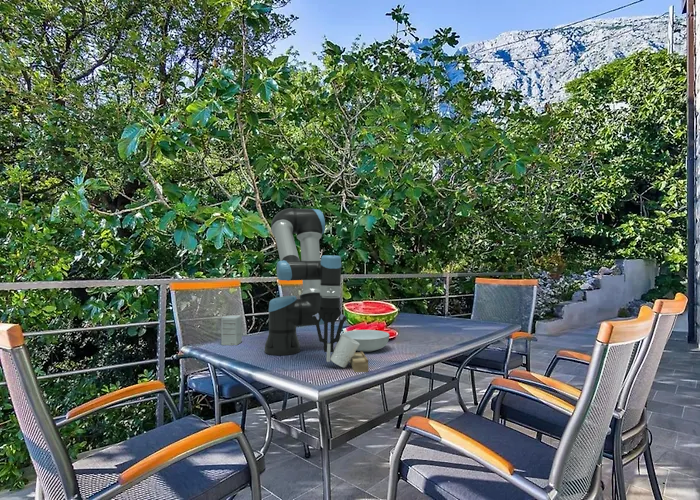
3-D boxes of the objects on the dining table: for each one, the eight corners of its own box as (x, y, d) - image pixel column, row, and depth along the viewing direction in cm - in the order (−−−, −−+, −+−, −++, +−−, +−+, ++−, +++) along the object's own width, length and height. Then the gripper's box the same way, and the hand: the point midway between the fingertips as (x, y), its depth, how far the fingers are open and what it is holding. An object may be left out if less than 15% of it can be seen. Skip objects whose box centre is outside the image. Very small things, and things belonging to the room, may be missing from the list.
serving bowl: (337, 345, 196) (337, 330, 196) (381, 343, 200) (381, 328, 200) (347, 356, 175) (347, 339, 175) (395, 353, 180) (396, 337, 180)
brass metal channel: (349, 361, 167) (349, 350, 167) (362, 361, 167) (362, 350, 167) (354, 372, 152) (354, 360, 152) (368, 371, 152) (368, 360, 152)
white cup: (324, 355, 160) (337, 331, 160) (340, 361, 164) (353, 338, 164) (333, 364, 153) (347, 339, 154) (350, 370, 157) (363, 346, 157)
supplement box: (227, 342, 203) (227, 315, 203) (242, 342, 202) (242, 315, 202) (220, 345, 195) (220, 317, 195) (236, 345, 194) (236, 317, 195)
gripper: (313, 297, 154) (311, 363, 154) (348, 298, 156) (346, 363, 155) (312, 295, 162) (310, 358, 161) (346, 296, 163) (344, 358, 162)
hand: (328, 360), depth 158 cm, fingers closed
